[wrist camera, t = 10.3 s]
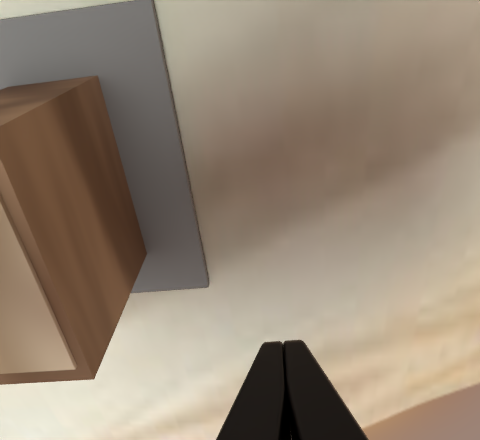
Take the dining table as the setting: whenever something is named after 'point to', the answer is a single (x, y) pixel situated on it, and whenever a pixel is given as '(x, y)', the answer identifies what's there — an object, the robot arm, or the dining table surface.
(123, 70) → the mat
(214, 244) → the dining table surface
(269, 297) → the dining table surface
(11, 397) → the dining table surface
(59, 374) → the slab
